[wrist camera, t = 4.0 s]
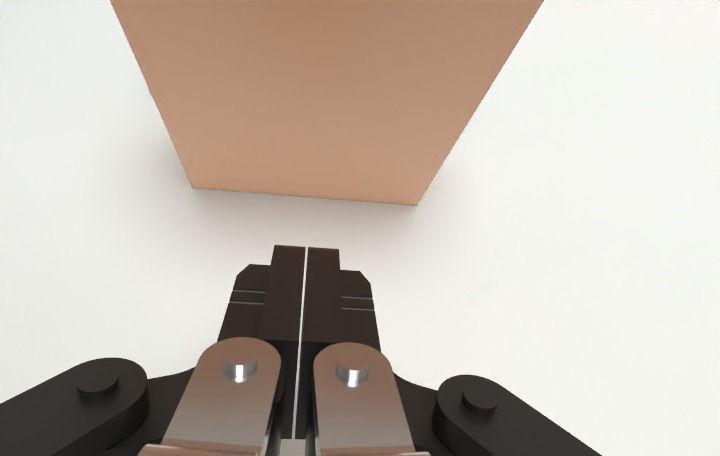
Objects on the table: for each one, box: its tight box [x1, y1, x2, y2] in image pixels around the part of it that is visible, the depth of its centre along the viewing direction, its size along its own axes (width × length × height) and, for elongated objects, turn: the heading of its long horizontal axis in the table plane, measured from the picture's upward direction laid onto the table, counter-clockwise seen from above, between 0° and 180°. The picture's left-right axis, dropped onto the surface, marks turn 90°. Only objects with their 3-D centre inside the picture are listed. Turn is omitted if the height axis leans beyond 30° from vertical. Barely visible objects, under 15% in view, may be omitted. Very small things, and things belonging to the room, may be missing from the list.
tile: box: [110, 0, 544, 206], centre depth 17 cm, size 10×3×14 cm, turn 88°
